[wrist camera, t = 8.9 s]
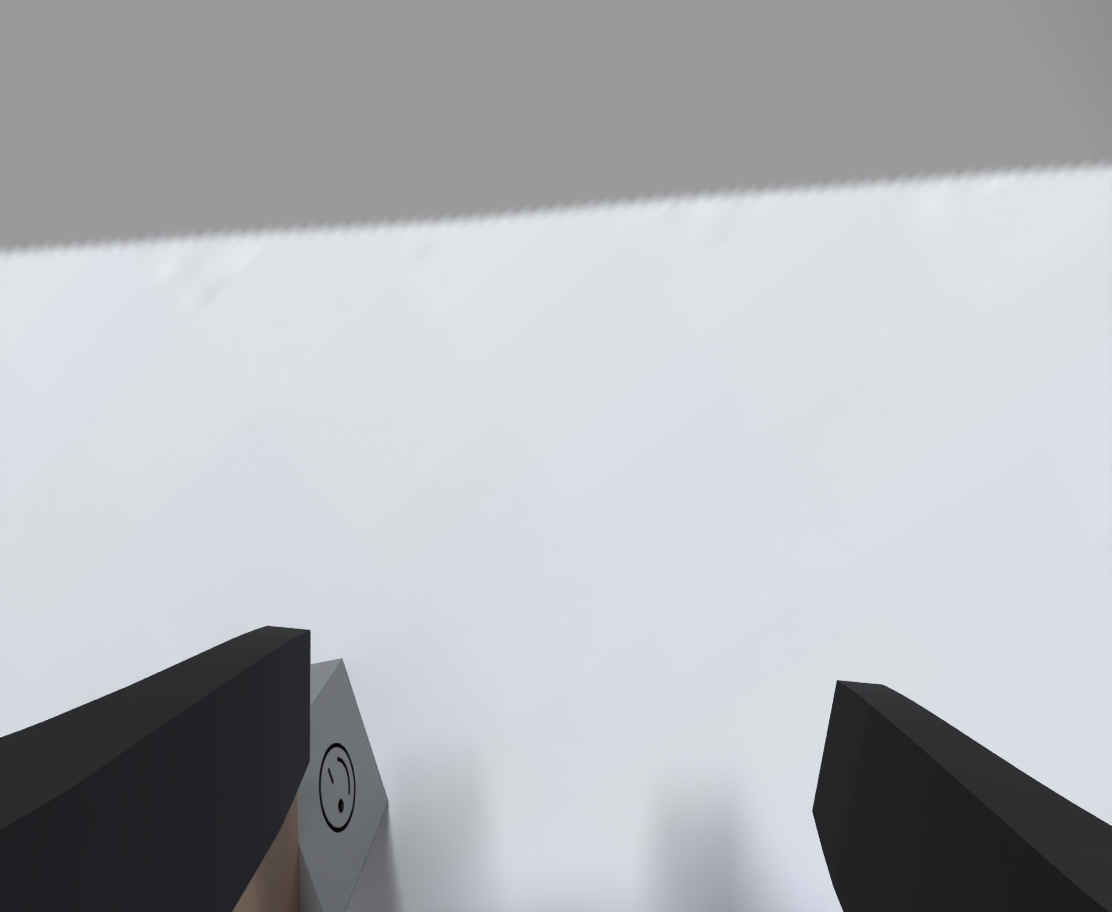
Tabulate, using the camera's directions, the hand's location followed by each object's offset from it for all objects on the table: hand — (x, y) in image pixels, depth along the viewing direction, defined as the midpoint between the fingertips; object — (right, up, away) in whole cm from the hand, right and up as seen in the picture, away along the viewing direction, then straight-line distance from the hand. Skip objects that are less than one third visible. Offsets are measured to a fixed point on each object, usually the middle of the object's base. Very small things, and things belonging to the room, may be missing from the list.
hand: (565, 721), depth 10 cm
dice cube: (-8, -5, +13) cm, 16 cm away
